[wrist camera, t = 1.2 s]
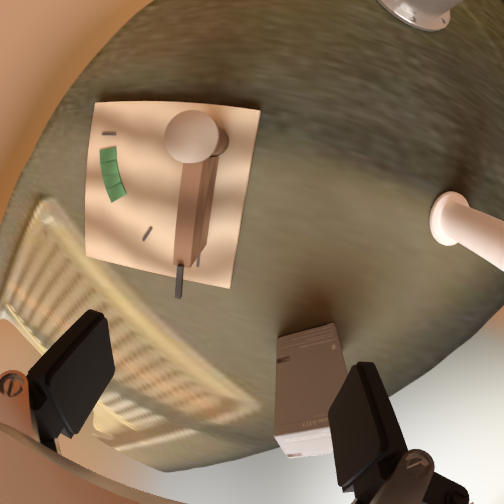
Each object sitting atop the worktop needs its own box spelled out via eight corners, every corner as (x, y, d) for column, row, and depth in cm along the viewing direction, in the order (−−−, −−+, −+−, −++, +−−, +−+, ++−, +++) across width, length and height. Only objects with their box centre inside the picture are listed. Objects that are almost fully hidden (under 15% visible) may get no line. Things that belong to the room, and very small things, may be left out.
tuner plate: (101, 104, 27) (94, 102, 25) (260, 112, 27) (260, 110, 25) (92, 252, 34) (85, 256, 32) (231, 282, 33) (229, 289, 32)
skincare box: (333, 320, 34) (362, 415, 19) (342, 357, 36) (365, 447, 22) (272, 337, 36) (270, 435, 21) (286, 372, 38) (288, 463, 23)
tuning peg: (199, 121, 26) (168, 108, 17) (237, 125, 26) (221, 112, 17) (180, 263, 31) (151, 301, 23) (214, 270, 31) (194, 311, 23)
